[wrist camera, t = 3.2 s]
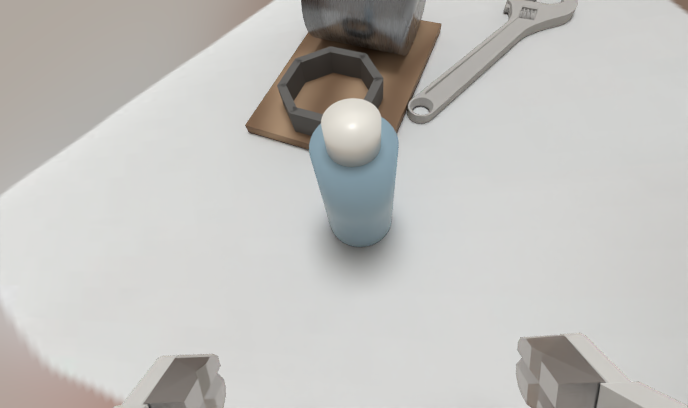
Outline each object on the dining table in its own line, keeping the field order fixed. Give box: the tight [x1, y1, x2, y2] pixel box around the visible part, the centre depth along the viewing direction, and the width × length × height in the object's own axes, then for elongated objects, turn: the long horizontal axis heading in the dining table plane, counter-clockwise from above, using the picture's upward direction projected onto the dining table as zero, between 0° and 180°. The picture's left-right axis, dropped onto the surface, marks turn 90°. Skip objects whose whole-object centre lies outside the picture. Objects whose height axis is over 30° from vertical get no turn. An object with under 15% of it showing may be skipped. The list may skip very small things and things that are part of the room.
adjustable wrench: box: [407, 0, 578, 123], centre depth 36 cm, size 25×6×2 cm, turn 129°
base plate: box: [245, 20, 441, 150], centre depth 36 cm, size 14×20×1 cm
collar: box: [277, 46, 384, 136], centre depth 32 cm, size 9×9×2 cm
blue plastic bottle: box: [309, 98, 398, 247], centre depth 23 cm, size 5×5×12 cm
